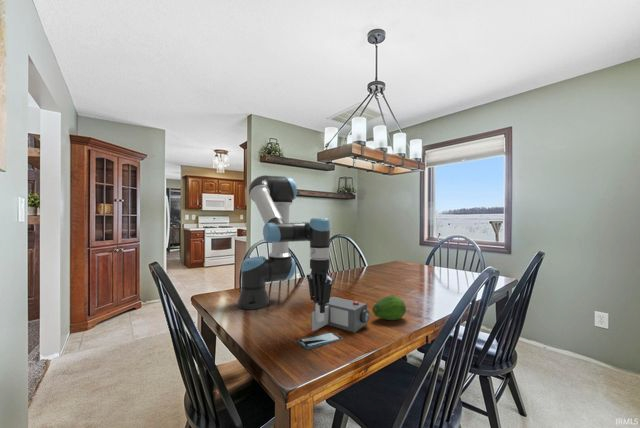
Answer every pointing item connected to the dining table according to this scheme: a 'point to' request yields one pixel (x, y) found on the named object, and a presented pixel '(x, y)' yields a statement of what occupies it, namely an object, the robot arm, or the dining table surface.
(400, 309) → the fruit
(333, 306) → the camera body
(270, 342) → the dining table surface
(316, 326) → the door
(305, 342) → the smartphone
